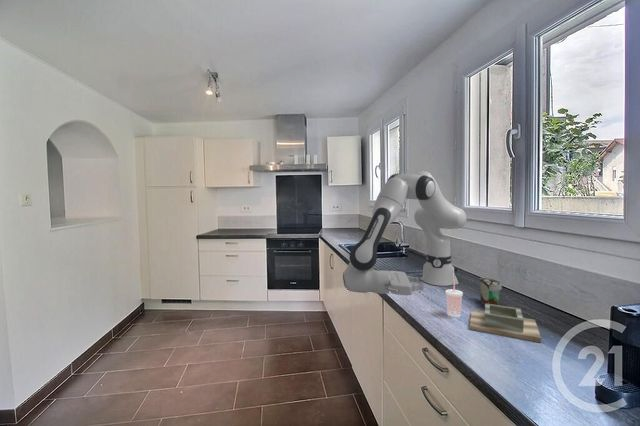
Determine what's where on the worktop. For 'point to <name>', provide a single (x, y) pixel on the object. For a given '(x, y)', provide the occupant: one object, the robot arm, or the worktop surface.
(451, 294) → the beverage cup
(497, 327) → the collar stand
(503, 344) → the worktop surface
